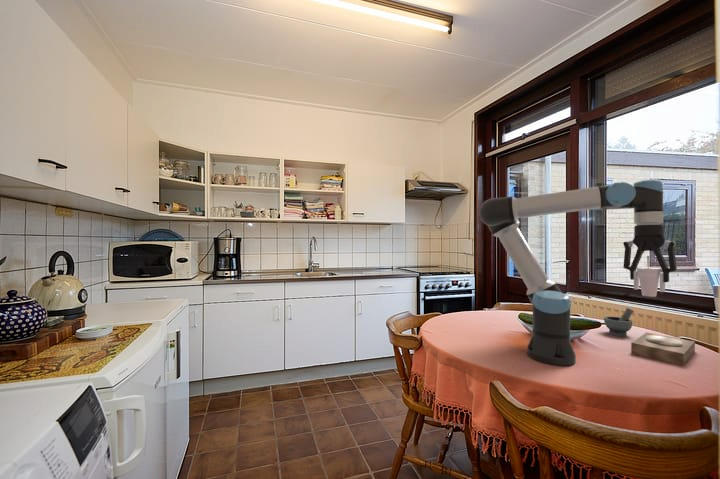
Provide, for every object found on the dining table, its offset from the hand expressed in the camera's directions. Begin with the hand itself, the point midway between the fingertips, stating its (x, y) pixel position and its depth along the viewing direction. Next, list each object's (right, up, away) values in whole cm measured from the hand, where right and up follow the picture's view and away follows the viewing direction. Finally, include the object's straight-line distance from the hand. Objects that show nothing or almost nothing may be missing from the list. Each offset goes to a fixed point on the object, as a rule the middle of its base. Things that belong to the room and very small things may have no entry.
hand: (649, 290), depth 110 cm
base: (+14, -25, +10) cm, 31 cm away
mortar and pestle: (+16, -25, +32) cm, 44 cm away
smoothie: (0, -2, 0) cm, 2 cm away
